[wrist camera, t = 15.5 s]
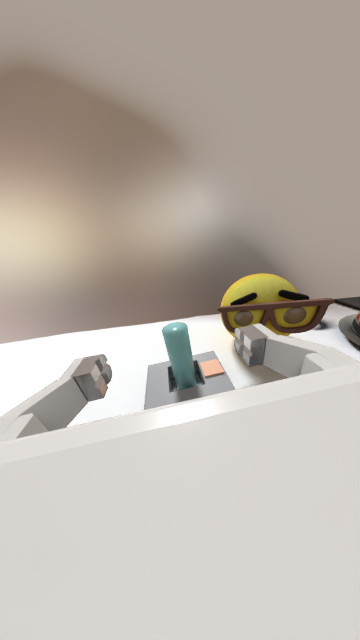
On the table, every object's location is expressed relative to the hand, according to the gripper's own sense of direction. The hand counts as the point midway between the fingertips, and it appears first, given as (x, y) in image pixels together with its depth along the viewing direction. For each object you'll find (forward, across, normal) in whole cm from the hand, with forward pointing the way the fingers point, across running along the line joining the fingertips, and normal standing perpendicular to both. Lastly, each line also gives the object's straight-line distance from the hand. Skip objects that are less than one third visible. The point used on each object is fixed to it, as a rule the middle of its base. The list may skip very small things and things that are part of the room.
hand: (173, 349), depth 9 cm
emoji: (+19, -19, +16) cm, 31 cm away
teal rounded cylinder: (+11, -1, +16) cm, 20 cm away
